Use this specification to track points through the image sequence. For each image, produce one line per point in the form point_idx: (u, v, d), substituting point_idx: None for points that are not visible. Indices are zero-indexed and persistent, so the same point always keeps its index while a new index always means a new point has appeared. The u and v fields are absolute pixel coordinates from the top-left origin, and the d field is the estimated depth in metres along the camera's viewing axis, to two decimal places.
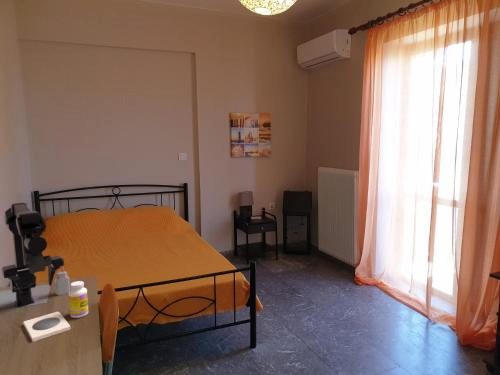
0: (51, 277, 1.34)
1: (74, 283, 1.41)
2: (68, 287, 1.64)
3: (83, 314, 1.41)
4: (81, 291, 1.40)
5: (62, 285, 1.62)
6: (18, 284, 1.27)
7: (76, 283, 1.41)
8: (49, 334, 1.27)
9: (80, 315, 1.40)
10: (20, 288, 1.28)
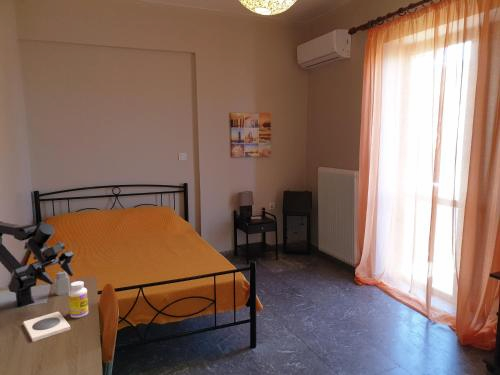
0: (69, 267, 1.49)
1: (74, 283, 1.41)
2: (68, 287, 1.64)
3: (83, 314, 1.41)
4: (81, 291, 1.40)
5: (62, 285, 1.62)
6: (46, 275, 1.40)
7: (76, 283, 1.41)
8: (49, 334, 1.27)
9: (80, 315, 1.40)
10: (50, 279, 1.40)
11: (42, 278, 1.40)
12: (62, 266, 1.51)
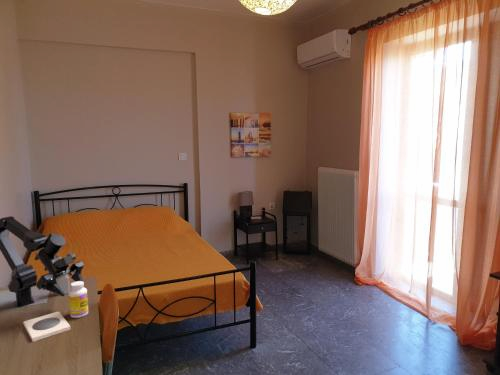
0: (80, 278, 1.47)
1: (74, 283, 1.41)
2: (68, 287, 1.64)
3: (83, 314, 1.41)
4: (81, 291, 1.40)
5: (62, 285, 1.62)
6: (58, 287, 1.38)
7: (76, 283, 1.41)
8: (49, 334, 1.27)
9: (80, 315, 1.40)
10: (61, 290, 1.38)
11: (53, 290, 1.38)
12: (73, 277, 1.49)
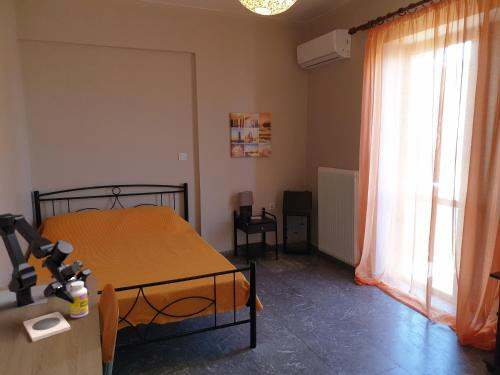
0: (85, 286, 1.46)
1: (74, 283, 1.41)
2: (68, 287, 1.64)
3: (83, 314, 1.41)
4: (81, 291, 1.40)
5: None
6: (68, 294, 1.38)
7: (76, 283, 1.41)
8: (49, 334, 1.27)
9: (80, 315, 1.40)
10: (71, 297, 1.38)
11: (63, 297, 1.38)
12: None
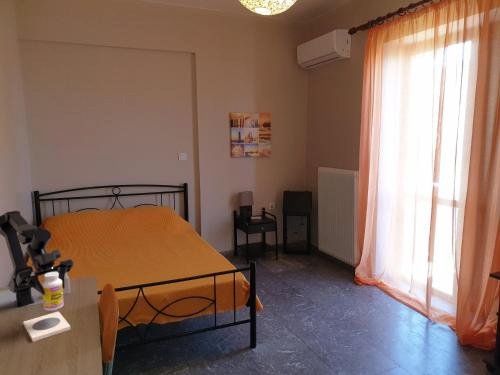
0: (62, 278, 1.37)
1: (48, 273, 1.33)
2: (68, 287, 1.64)
3: (54, 307, 1.32)
4: (53, 283, 1.32)
5: None
6: (39, 284, 1.31)
7: (50, 274, 1.33)
8: (49, 334, 1.27)
9: (51, 308, 1.32)
10: (42, 288, 1.31)
11: (35, 287, 1.32)
12: None
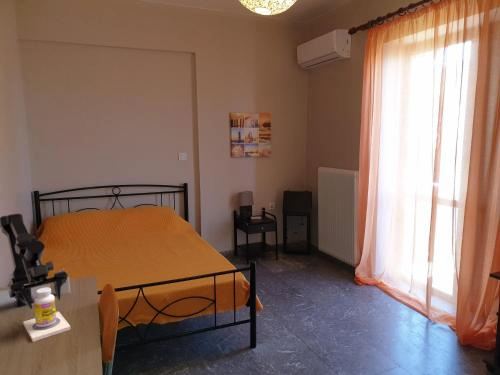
0: (58, 290, 1.36)
1: (41, 289, 1.32)
2: (68, 287, 1.64)
3: (45, 324, 1.31)
4: (44, 299, 1.30)
5: (62, 285, 1.62)
6: (26, 298, 1.29)
7: (42, 290, 1.32)
8: (49, 334, 1.27)
9: (42, 325, 1.30)
10: (29, 302, 1.28)
11: (24, 300, 1.30)
12: (55, 287, 1.39)
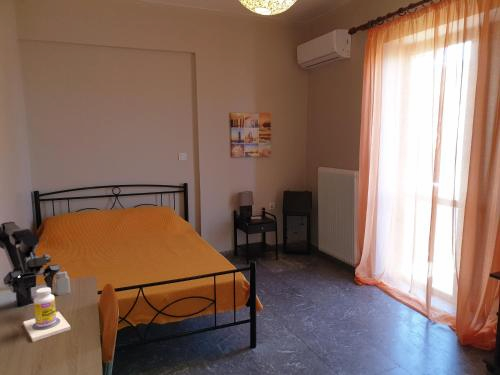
0: (51, 282, 1.44)
1: (41, 289, 1.32)
2: (68, 287, 1.64)
3: (46, 324, 1.31)
4: (44, 299, 1.30)
5: (62, 285, 1.62)
6: (22, 286, 1.36)
7: (42, 289, 1.32)
8: (49, 334, 1.27)
9: (42, 325, 1.30)
10: (25, 291, 1.36)
11: (18, 288, 1.36)
12: (45, 279, 1.46)
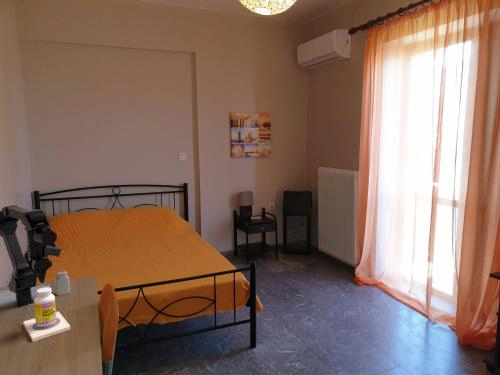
0: None
1: (41, 289, 1.32)
2: (68, 287, 1.64)
3: (46, 324, 1.31)
4: (45, 299, 1.30)
5: (62, 285, 1.62)
6: None
7: (43, 289, 1.32)
8: (49, 334, 1.27)
9: (42, 325, 1.30)
10: None
11: (39, 274, 1.40)
12: (30, 263, 1.47)
